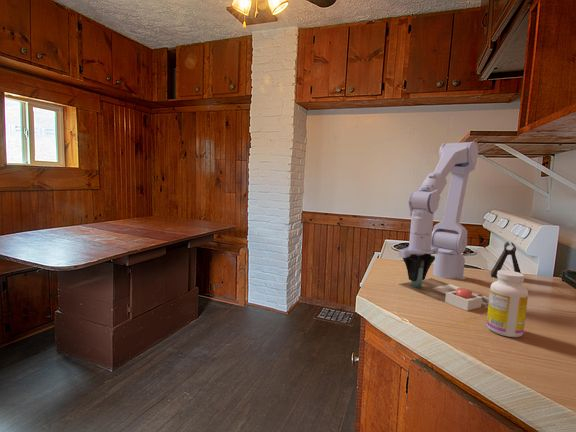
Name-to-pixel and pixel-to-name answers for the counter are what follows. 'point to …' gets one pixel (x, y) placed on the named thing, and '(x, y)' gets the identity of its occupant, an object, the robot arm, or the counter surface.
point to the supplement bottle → (507, 304)
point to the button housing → (463, 301)
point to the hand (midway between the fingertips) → (416, 279)
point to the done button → (464, 293)
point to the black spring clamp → (502, 260)
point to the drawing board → (440, 290)
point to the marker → (418, 277)
